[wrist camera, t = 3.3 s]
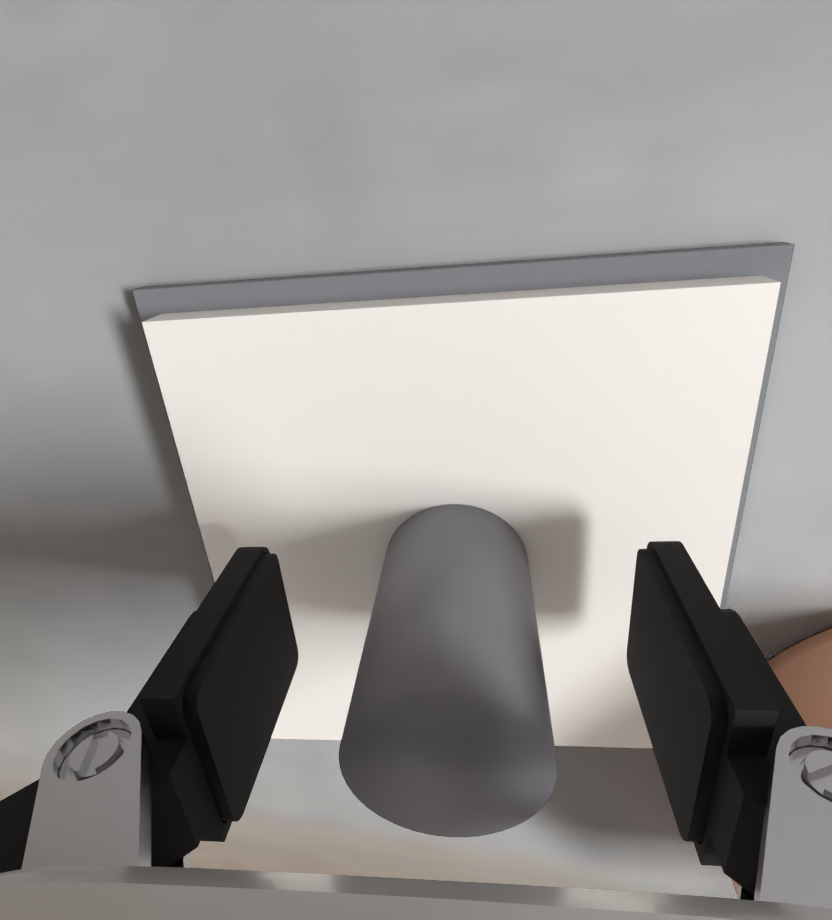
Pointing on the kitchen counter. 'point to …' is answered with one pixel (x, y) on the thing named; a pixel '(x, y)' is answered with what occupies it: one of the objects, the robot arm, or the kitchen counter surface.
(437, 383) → the lid
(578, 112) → the kitchen counter surface
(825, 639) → the bowl
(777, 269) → the mat
